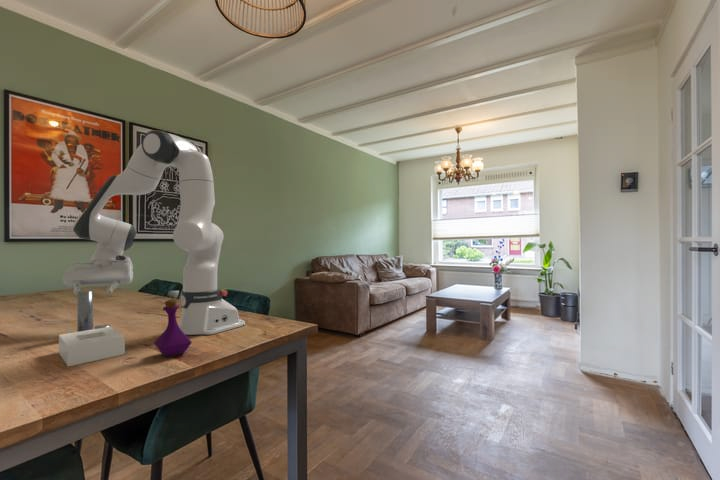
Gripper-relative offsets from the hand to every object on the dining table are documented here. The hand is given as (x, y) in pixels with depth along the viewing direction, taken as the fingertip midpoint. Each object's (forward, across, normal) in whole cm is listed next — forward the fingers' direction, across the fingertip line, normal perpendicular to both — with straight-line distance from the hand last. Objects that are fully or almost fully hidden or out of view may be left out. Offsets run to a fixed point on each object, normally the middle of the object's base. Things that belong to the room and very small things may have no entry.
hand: (93, 292), depth 114 cm
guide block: (+28, +9, -8) cm, 31 cm away
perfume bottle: (+34, +31, -14) cm, 48 cm away
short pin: (+18, +7, +1) cm, 20 cm away
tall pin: (+14, 0, +6) cm, 15 cm away
